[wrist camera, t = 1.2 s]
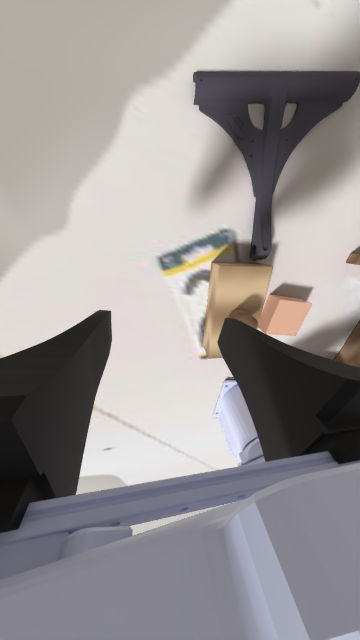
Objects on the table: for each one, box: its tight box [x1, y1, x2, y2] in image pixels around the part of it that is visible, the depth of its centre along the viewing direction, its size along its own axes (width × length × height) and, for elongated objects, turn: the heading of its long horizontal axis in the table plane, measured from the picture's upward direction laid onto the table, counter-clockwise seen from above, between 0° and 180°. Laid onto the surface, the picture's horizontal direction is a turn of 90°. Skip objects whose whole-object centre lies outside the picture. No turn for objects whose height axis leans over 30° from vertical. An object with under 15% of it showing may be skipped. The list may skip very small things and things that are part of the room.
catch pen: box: [334, 253, 360, 367], centre depth 26 cm, size 19×10×4 cm, turn 172°
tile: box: [258, 294, 312, 336], centre depth 24 cm, size 5×5×2 cm
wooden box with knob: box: [203, 262, 273, 359], centre depth 21 cm, size 12×6×6 cm, turn 178°
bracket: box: [193, 71, 360, 260], centre depth 17 cm, size 14×15×3 cm
